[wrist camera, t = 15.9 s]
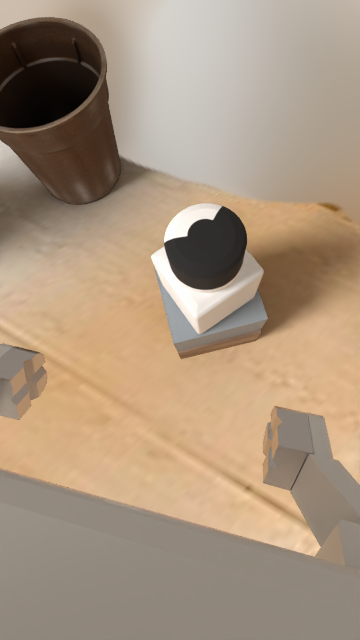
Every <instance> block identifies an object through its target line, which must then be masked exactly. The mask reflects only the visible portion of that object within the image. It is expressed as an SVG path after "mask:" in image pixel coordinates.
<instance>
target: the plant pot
mask: <svg viewBox="0 0 360 640" xmlns="http://www.w3.org/2000/svg"><path fill="white" fill-rule="evenodd" d="M106 72H107V62H106V56H105V52H104V49H103V46H102V45H101V43H100V41H99V40H98V39H97V37H96V36H95V35H94V34H93V33H92V32H91V31H89V30H88V29H87V28H85V27H84V26H82V25H80V24H78V23H75V22H73V21H70V20H67V19H62V18H54V17H45V18H44V17H42V18H33V19H28V20H24V21H20V22H17V23H14V24H11V25H9V26H7V27H4V28H3V29H1V30H0V140H1V141H2V142H3V143H5V144H6V145H8V146H9V147H10V148H11V149H12V150H13V151H14V152H15V153H16V154H17V155H18V157H19V158H20V159H21V160H22V161H23V162H24V163H25V164H26V165H27V167H28V168H29V169H30V170H31V171H32V172H33V173H34V174H35V176H36V177H37V178H38V179H39V180H40V181H41V182H42V183H43V185H44V186H45V187H46V188H47V189H48V190H49V191H50V193H51V194H52V195H53V196H54V197H56V198H58V199H60V200H63V201H65V202H67V203H70V204H85V203H90V202H93V201H96V200H98V199H100V198H102V197H103V196H105V195H106V194H107V193H109V192H110V191H111V189H112V187H113V185H114V183H115V182H116V180H118V179H119V176H120V170H121V164H120V158H119V154H118V149H117V145H116V140H115V135H114V130H113V125H112V120H111V115H110V110H109V104H108V99H109V93H108V87H107V82H106Z"/></svg>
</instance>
